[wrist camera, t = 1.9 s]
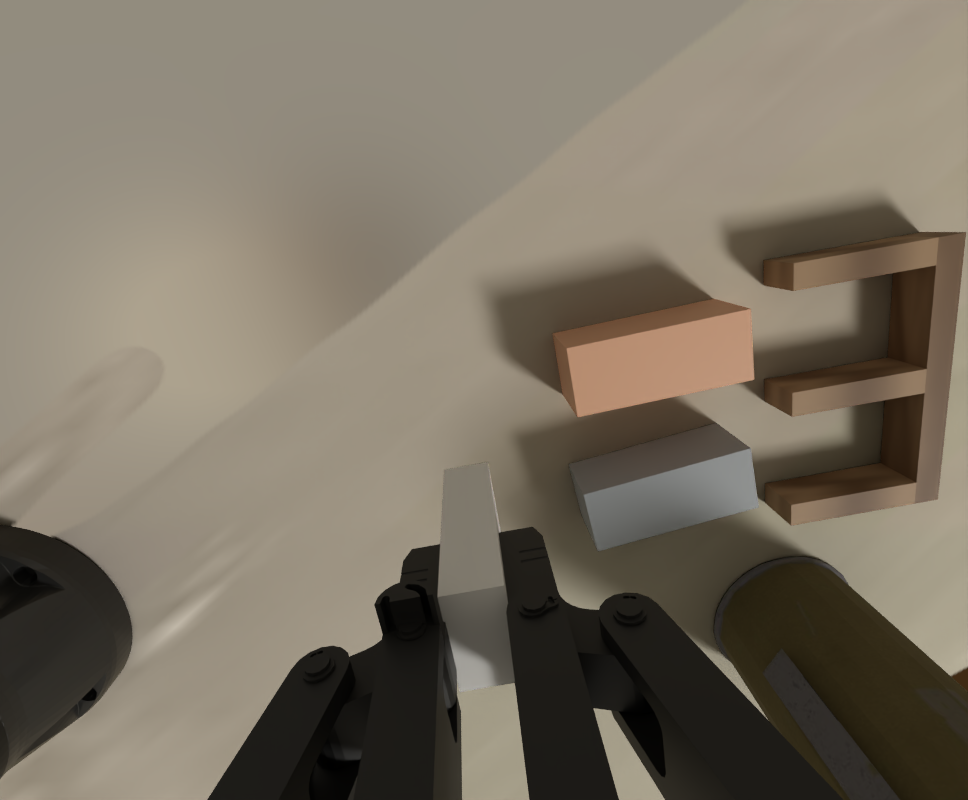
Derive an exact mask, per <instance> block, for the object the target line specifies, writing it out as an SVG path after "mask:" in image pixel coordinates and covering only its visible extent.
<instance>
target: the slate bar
mask: <svg viewBox="0 0 968 800" xmlns="http://www.w3.org/2000/svg"><path fill="white" fill-rule="evenodd" d="M569 468H570V472H571V476H572V480H573V484H574V488H575V491H576V495H577V499H578V503H579V507H580V511H581V515H582V517H583V520H584V522H585V524H586V526H587V529H588V531H589V533H590V535H591V537H592V540H593V542H594V544H595V546H596V549H597V551H601V550H605V549H609V548H612V547H616V546H620V545H623V544H627V543H631V542H634V541H638V540H641V539H645V538H649V537H652V536H656V535H660V534H663V533H667V532H671V531H674V530H678V529H682V528H685V527H689V526H692V525H696V524H700V523H703V522H707V521H711V520H714V519H718V518H722V517H725V516H729V515H733V514H736V513H740V512H743V511H747V510H751V509H754V508H758V507H759V505H758V498H757V491H756V483H755V476H754V468H753V461H752V454H751V448H750V447H748V446H747V445H745V444H744V443H743V442H741V441H740V440H739V439H737V438H736V437H735V436H733V435H732V434H730V433H729V432H728V431H726V430H725V429H724V428H722V427H721V426H720V425H718V424H717V423H714V424H711V425H707V426H703V427H700V428H696V429H693V430H689V431H686V432H682V433H678V434H675V435H671V436H668V437H664V438H661V439H657V440H653V441H650V442H646V443H643V444H639V445H636V446H632V447H628V448H625V449H621V450H618V451H614V452H611V453H607V454H603V455H600V456H596V457H593V458H589V459H586V460H582V461H578V462H575V463H571V464H569Z"/></svg>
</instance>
